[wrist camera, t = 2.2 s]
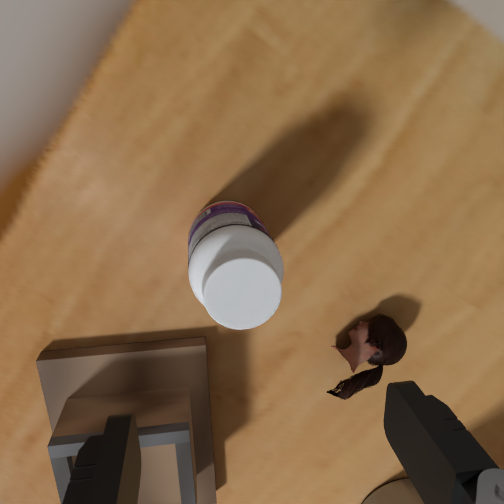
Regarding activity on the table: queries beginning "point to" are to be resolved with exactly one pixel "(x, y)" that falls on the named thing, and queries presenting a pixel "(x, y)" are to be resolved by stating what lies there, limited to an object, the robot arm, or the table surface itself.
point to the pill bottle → (234, 265)
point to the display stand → (136, 412)
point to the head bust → (371, 353)
